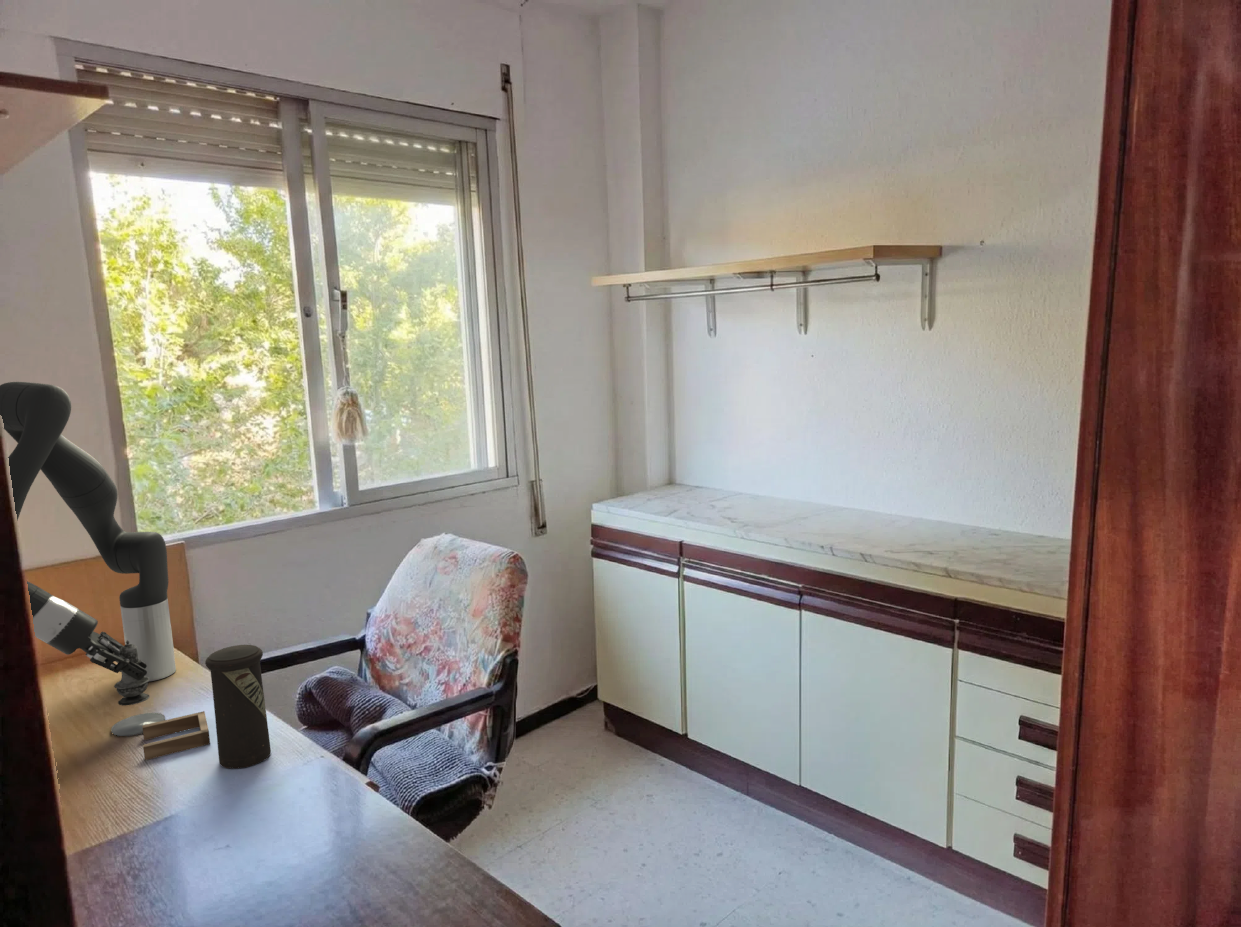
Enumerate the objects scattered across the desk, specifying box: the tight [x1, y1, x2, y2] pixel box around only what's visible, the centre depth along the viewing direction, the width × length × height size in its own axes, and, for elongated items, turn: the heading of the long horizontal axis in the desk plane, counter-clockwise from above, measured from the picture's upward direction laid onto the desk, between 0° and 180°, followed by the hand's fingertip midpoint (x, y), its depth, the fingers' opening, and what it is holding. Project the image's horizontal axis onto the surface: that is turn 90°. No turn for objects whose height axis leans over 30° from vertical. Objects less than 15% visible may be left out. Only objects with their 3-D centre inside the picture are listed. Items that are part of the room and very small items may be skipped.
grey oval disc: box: [110, 712, 166, 737], centre depth 155 cm, size 9×9×1 cm
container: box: [204, 644, 272, 769], centre depth 139 cm, size 9×9×20 cm
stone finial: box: [113, 640, 150, 707], centre depth 153 cm, size 6×6×12 cm
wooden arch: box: [142, 710, 211, 761], centre depth 148 cm, size 10×10×2 cm
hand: (143, 672), depth 154 cm, fingers closed on stone finial, 3 cm apart
